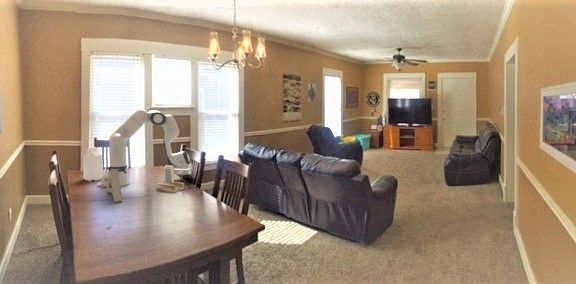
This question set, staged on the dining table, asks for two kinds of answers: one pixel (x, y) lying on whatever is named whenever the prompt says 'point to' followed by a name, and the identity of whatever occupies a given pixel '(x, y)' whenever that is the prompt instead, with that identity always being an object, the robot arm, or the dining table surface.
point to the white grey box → (169, 173)
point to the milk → (93, 165)
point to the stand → (170, 186)
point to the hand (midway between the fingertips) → (173, 172)
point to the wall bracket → (114, 186)
